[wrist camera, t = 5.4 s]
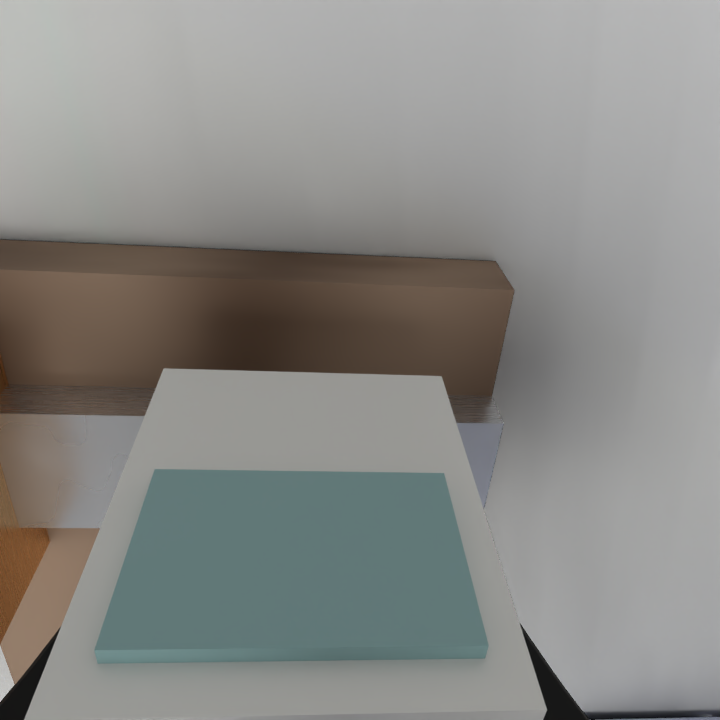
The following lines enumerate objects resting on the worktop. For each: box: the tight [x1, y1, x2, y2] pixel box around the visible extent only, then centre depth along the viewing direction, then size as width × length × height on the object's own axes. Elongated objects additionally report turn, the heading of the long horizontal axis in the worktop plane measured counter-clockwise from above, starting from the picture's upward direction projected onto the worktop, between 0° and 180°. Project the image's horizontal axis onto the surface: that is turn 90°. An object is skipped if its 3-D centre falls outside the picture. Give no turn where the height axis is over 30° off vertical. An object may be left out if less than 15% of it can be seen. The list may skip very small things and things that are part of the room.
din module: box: [24, 368, 547, 720], centre depth 9 cm, size 4×7×6 cm, turn 176°
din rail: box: [0, 354, 504, 644], centre depth 12 cm, size 12×6×4 cm, turn 86°
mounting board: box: [0, 240, 514, 684], centre depth 16 cm, size 12×16×2 cm
